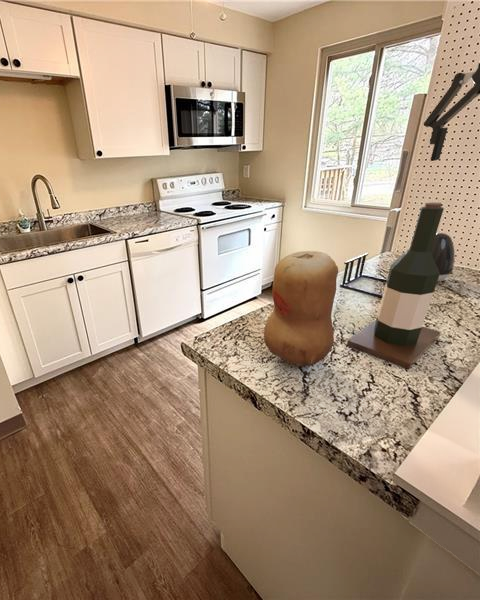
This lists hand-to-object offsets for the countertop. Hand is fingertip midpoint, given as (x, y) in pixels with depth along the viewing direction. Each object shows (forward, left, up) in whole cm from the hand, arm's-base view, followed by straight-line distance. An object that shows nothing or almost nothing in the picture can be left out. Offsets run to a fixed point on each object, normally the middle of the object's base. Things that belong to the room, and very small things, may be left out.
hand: (475, 158), depth 65 cm
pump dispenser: (-16, -24, -38) cm, 48 cm away
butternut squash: (+38, +18, -38) cm, 57 cm away
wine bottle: (+14, +12, -37) cm, 41 cm away
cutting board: (+14, +12, -38) cm, 42 cm away
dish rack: (+2, -20, -38) cm, 43 cm away
